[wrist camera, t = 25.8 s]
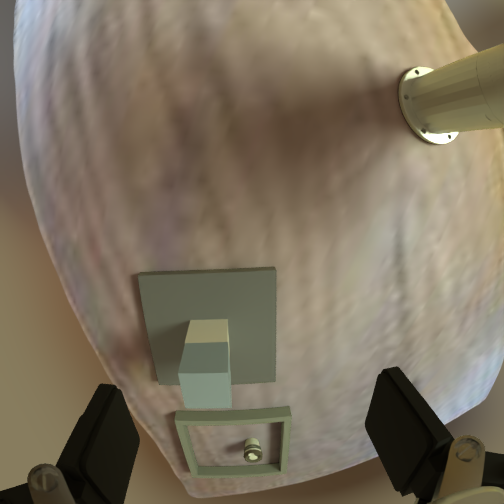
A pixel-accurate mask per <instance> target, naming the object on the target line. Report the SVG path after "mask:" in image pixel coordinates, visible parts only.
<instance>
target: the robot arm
mask: <svg viewBox="0 0 504 504" xmlns="http://www.w3.org/2000/svg"><path fill="white" fill-rule="evenodd" d="M399 102H400V107H401V110H402V112H403V115H404V117H405V119H406V121H407V123H408V124H409V126H410V127H411V128H412V130H413V131H414V132H415V133H416V134H417V135H418V136H419V137H421V138H422V139H423V140H425V141H427V142H429V143H432V144H446V143H449V142H451V141H452V140H453V139H454V138H455V137H456V136H457V135H458V132H464V131H473V130H483V129H495V128H504V43H503V44H500V45H497V46H495V47H492V48H489V49H487V50H484V51H481V52H478V53H476V54H473V55H470V56H468V57H465V58H463V59H460V60H458V61H455V62H453V63H450V64H448V65H445V66H443V67H441V68H438V69H436V70H433V69H431V68H428V67H415V68H413V69H411V70H409V71H407V72H406V73H405V74H404V75H403V77H402V79H401V81H400V84H399ZM365 428H366V431H367V433H368V435H369V437H370V439H371V441H372V443H373V445H374V447H375V449H376V451H377V453H378V455H379V457H380V459H381V461H382V464H383V466H384V468H385V470H386V472H387V474H388V476H389V478H390V480H391V482H392V484H393V487H394V489H395V490H396V491H400V493H401V495H402V496H405V495H408V494H410V493H413V492H414V494H415V496H416V500H415V502H414V504H504V454H498V453H492V452H486V451H485V446H484V444H483V443H482V442H481V440H480V439H478V438H477V437H475V436H471V435H463V436H460V437H458V438H456V439H454V438H453V437H452V435H451V434H450V433H449V431H448V430H447V429H446V427H445V426H444V424H443V423H442V422H441V420H440V419H439V418H438V417H437V415H436V414H435V413H434V411H433V410H432V409H431V407H430V406H429V405H428V403H427V402H426V401H425V400H424V398H423V397H422V396H421V395H420V393H419V392H418V391H417V390H416V388H415V387H414V386H413V384H412V383H411V382H410V381H409V379H408V378H407V377H406V376H405V374H404V373H403V372H402V371H401V369H400V368H399V367H397V366H396V367H392V368H387V369H383V370H382V372H381V374H379V375H378V377H377V381H376V385H375V388H374V392H373V396H372V400H371V403H370V407H369V410H368V414H367V417H366V420H365ZM139 442H140V438H139V434H138V432H137V430H136V427H135V425H134V422H133V420H132V417H131V415H130V412H129V410H128V407H127V404H126V402H125V399H124V396H123V394H122V391H121V390H120V389H118V388H117V387H116V385H111V384H100V385H99V386H98V388H97V390H96V391H95V393H94V395H93V397H92V399H91V401H90V402H89V404H88V406H87V408H86V410H85V412H84V414H83V415H81V417H80V418H79V420H78V422H77V424H76V426H75V428H74V429H73V431H72V433H71V436H70V437H69V439H68V441H67V443H66V446H65V447H64V449H63V451H62V453H61V455H60V458H59V460H58V462H57V464H56V466H53V465H51V464H46V463H45V464H39V465H37V466H35V467H34V468H32V469H31V471H30V472H29V474H28V477H27V482H28V483H25V484H22V485H19V486H16V487H13V488H9V489H6V490H3V491H0V504H124V500H125V496H126V492H127V488H128V484H129V480H130V476H131V473H132V469H133V465H134V461H135V458H136V454H137V451H138V447H139Z"/></svg>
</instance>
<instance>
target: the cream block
mask: <svg viewBox="0 0 504 504" xmlns="http://www.w3.org/2000/svg"><path fill="white" fill-rule="evenodd" d="M210 342H228V348H229V335H228V319H212V320H190V324H189V327H188V331H187V335H186V339H185V343H210ZM229 360H230V354H229Z"/></svg>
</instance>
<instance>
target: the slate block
mask: <svg viewBox="0 0 504 504" xmlns="http://www.w3.org/2000/svg"><path fill="white" fill-rule="evenodd" d="M178 376H179V381H180V386H181V390H182V395H183V399H184V404H185V408H232V405H231V371H230V360H229V348H228V342H210V343H185V346H184V350H183V354H182V358H181V363H180V367H179V371H178Z"/></svg>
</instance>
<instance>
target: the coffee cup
mask: <svg viewBox="0 0 504 504" xmlns="http://www.w3.org/2000/svg"><path fill="white" fill-rule="evenodd" d="M244 458H245V460H246V461H247V462H252V463H253V462H258V461H260V460H261V459H262V452H261V448H260V446H259V442H258V440H257V439H255V438H249V439H247V440H246V441H245V449H244Z"/></svg>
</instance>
